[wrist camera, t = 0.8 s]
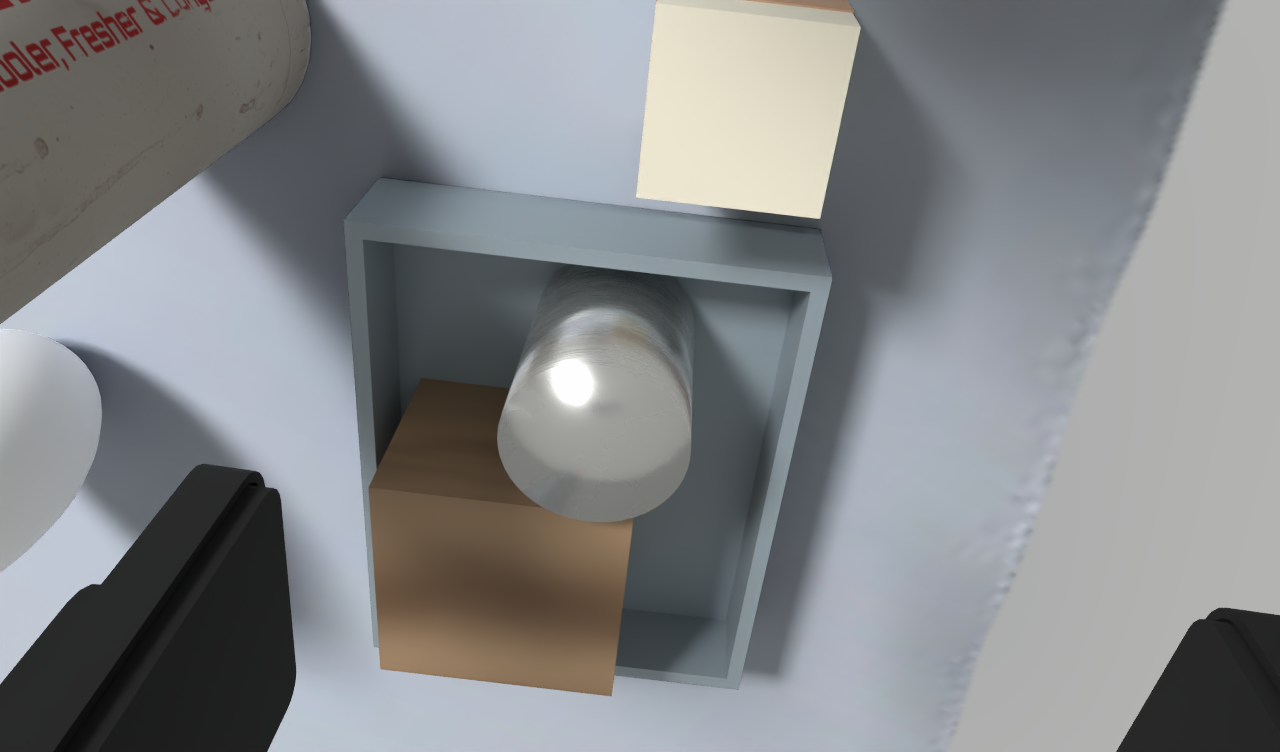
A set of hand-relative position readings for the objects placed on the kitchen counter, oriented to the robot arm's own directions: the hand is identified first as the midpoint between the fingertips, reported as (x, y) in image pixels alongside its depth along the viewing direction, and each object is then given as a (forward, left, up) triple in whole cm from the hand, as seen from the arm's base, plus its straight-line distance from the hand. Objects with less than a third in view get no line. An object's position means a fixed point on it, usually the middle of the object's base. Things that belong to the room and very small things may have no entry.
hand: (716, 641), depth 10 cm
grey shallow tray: (+16, -3, -25) cm, 30 cm away
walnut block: (+18, -5, -25) cm, 31 cm away
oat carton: (0, +1, -25) cm, 25 cm away
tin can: (+10, -2, -25) cm, 27 cm away
